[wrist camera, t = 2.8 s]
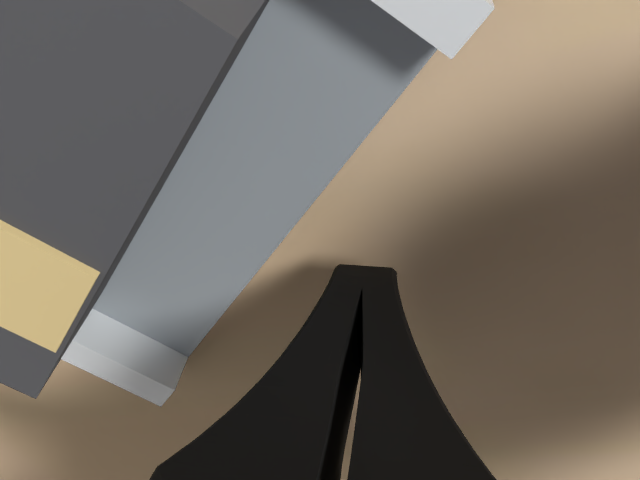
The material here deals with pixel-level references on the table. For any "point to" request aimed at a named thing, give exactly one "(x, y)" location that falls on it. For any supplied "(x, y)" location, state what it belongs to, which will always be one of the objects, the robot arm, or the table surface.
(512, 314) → the table surface
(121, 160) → the block
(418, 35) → the tray
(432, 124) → the table surface
